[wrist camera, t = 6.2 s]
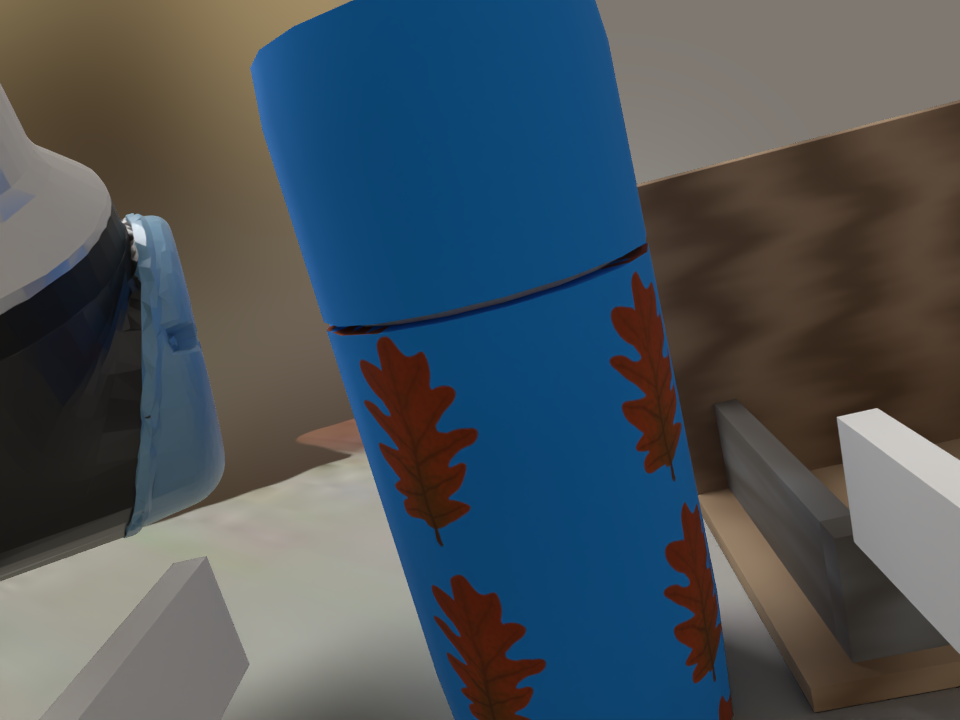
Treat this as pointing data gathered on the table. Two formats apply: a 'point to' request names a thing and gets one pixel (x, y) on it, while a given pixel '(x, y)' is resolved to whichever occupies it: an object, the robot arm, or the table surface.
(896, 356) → the mount board
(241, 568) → the table surface
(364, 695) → the table surface
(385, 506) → the thermos
